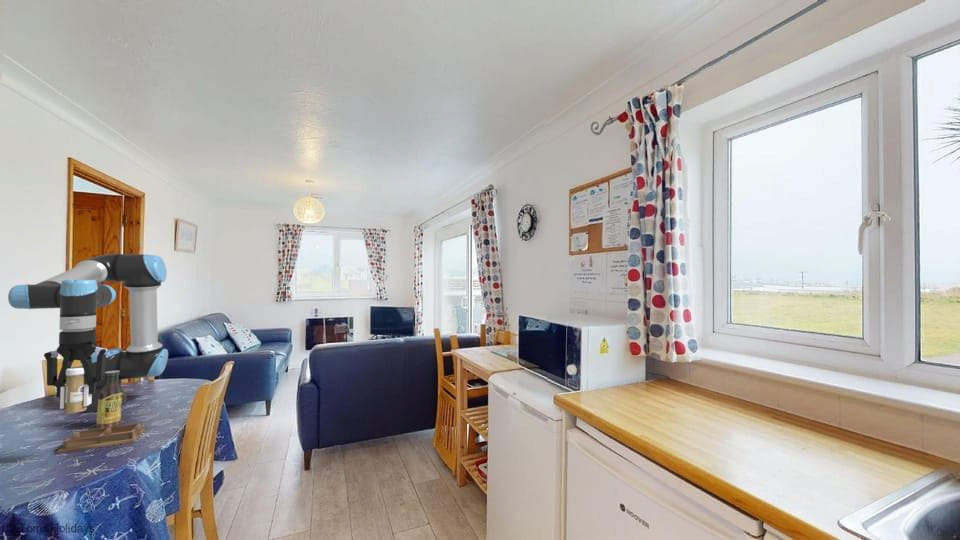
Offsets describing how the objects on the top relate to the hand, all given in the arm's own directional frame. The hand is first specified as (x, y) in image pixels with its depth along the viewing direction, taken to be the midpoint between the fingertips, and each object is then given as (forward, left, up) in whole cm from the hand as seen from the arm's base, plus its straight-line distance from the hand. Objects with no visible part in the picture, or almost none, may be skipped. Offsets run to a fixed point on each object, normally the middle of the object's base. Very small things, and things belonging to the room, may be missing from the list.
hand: (76, 405), depth 110 cm
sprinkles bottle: (0, 0, -2) cm, 2 cm away
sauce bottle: (-26, -1, -16) cm, 30 cm away
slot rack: (-11, +3, -16) cm, 19 cm away
